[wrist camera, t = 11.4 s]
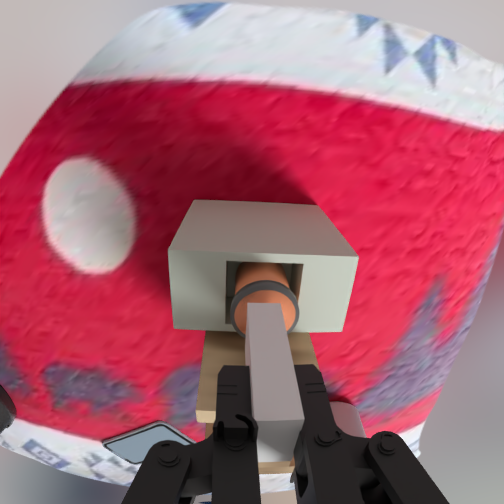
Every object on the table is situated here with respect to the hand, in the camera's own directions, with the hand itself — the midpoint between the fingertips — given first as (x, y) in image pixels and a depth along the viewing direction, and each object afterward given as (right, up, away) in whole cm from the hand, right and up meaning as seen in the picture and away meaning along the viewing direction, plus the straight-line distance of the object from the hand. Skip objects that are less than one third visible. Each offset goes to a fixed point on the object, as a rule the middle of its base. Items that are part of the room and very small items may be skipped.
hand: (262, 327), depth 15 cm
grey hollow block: (0, +5, +12) cm, 13 cm away
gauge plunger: (0, +2, +4) cm, 5 cm away
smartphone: (-16, -25, +25) cm, 39 cm away
